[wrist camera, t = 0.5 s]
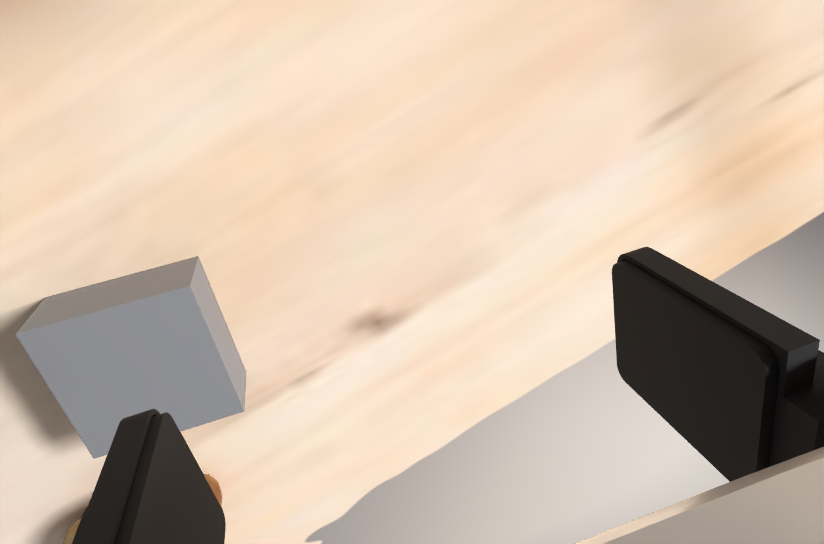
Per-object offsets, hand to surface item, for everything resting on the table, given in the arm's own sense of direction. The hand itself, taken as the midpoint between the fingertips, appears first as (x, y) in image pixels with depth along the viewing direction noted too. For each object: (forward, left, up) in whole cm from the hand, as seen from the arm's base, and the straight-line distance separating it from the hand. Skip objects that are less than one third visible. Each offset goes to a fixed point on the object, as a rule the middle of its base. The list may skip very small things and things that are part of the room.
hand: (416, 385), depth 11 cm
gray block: (+14, -17, -35) cm, 42 cm away
